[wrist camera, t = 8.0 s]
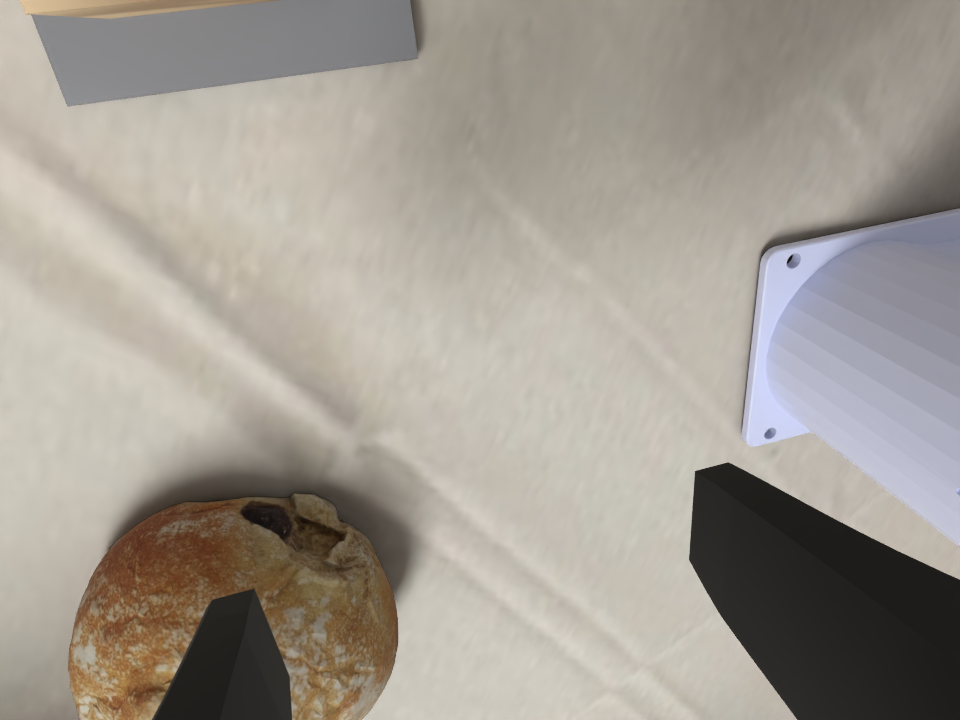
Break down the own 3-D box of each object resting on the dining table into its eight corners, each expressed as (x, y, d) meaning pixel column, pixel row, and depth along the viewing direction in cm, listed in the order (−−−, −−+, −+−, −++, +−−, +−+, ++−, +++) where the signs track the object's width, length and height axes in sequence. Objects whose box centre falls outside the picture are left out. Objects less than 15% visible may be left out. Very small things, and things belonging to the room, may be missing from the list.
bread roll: (394, 479, 26) (456, 534, 19) (351, 729, 26) (396, 885, 19) (127, 451, 23) (73, 505, 15) (72, 739, 23) (-9, 936, 15)
